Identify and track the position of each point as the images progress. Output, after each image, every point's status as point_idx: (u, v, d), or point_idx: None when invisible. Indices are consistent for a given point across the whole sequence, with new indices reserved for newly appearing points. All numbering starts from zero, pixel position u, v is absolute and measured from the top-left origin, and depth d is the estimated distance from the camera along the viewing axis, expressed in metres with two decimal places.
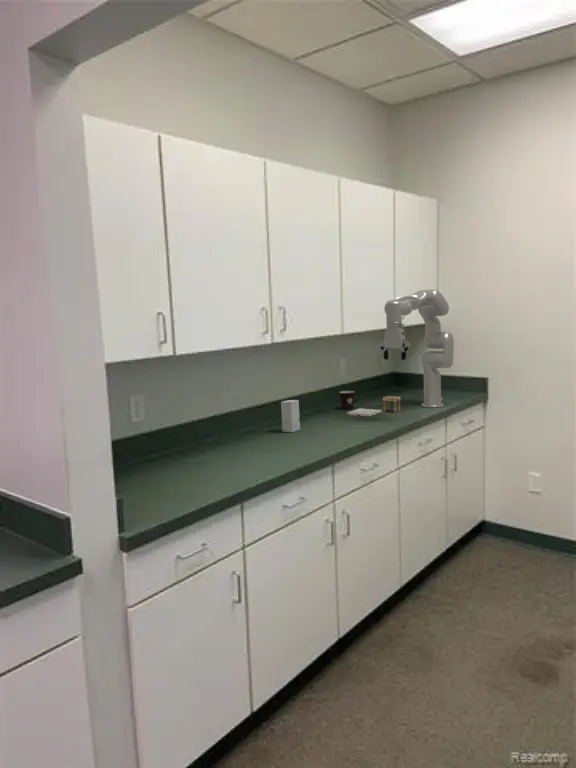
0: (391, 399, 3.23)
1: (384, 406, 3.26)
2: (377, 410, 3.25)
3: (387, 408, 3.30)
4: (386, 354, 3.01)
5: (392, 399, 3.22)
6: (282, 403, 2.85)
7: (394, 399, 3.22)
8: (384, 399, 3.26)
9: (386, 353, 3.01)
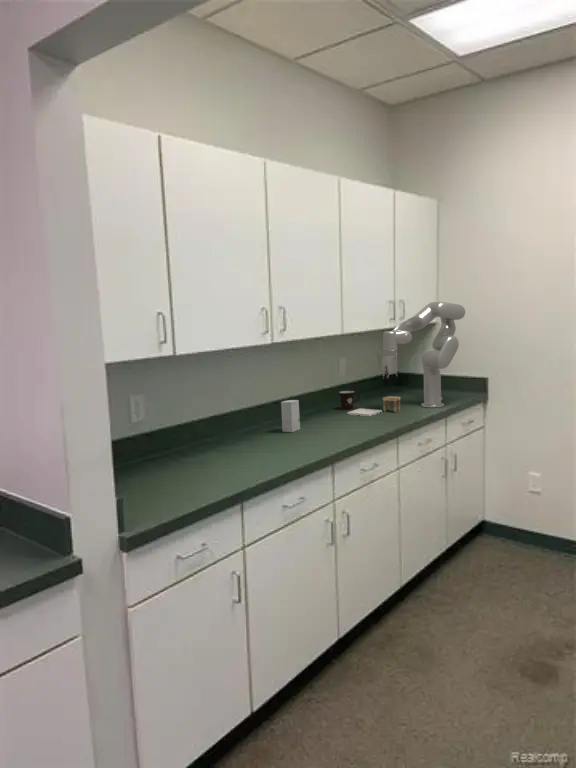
0: (391, 399, 3.23)
1: (384, 406, 3.26)
2: (377, 410, 3.25)
3: (387, 408, 3.30)
4: None
5: (392, 399, 3.22)
6: (282, 403, 2.85)
7: (394, 399, 3.22)
8: (384, 399, 3.26)
9: None
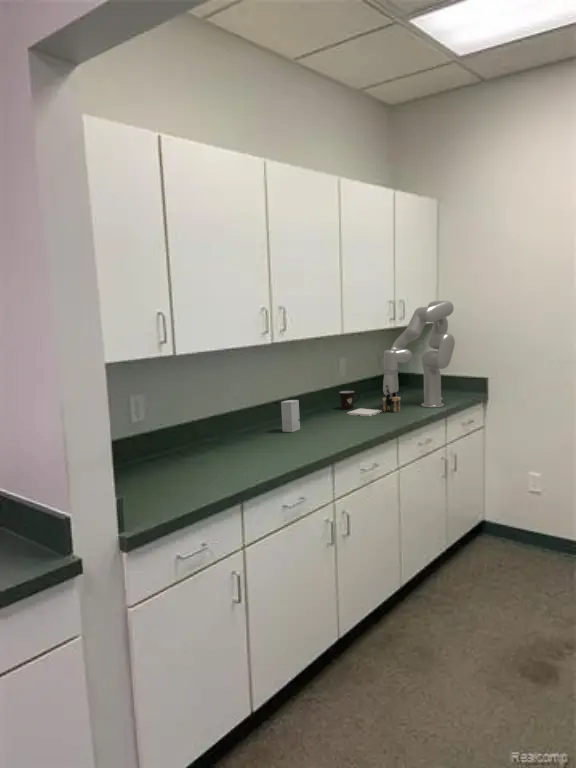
0: None
1: (384, 406, 3.26)
2: (377, 410, 3.25)
3: (387, 408, 3.30)
4: None
5: (392, 399, 3.22)
6: (282, 403, 2.85)
7: (394, 399, 3.22)
8: (384, 399, 3.26)
9: None
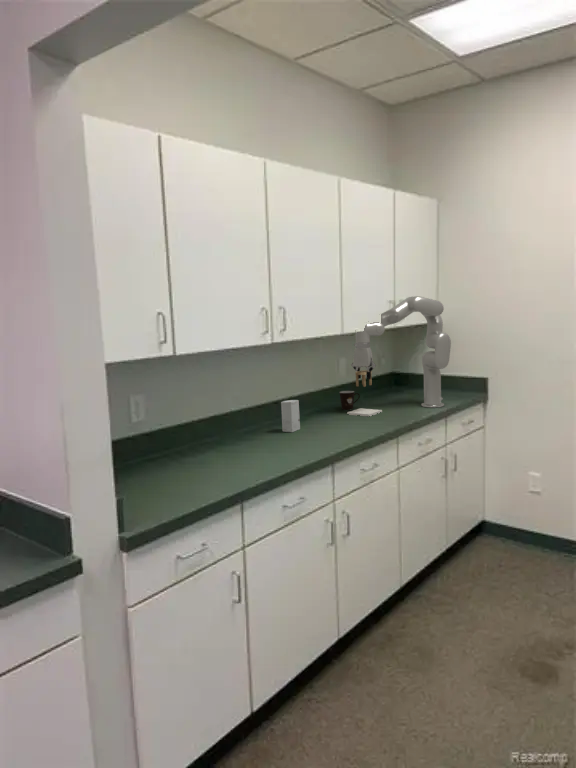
0: None
1: (365, 380, 3.18)
2: (377, 410, 3.25)
3: (357, 384, 3.21)
4: None
5: None
6: (282, 403, 2.85)
7: None
8: (365, 373, 3.18)
9: None
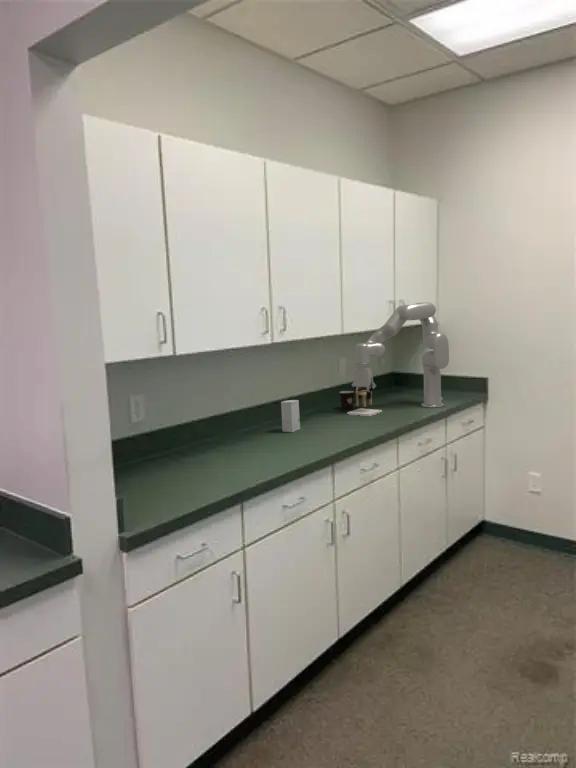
0: None
1: (365, 401, 3.20)
2: (377, 410, 3.25)
3: (358, 404, 3.22)
4: None
5: None
6: (282, 403, 2.85)
7: None
8: (365, 393, 3.19)
9: None
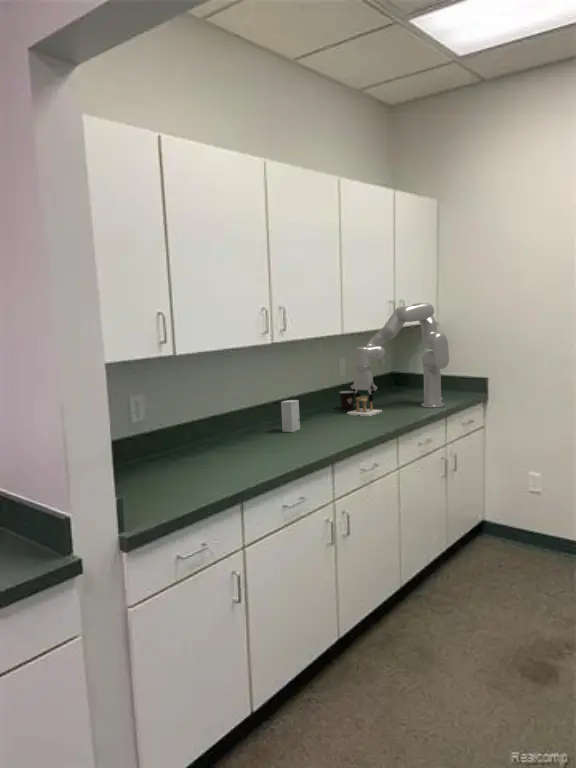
0: None
1: None
2: (377, 410, 3.25)
3: (358, 410, 3.23)
4: None
5: None
6: (282, 403, 2.85)
7: None
8: (365, 399, 3.20)
9: None
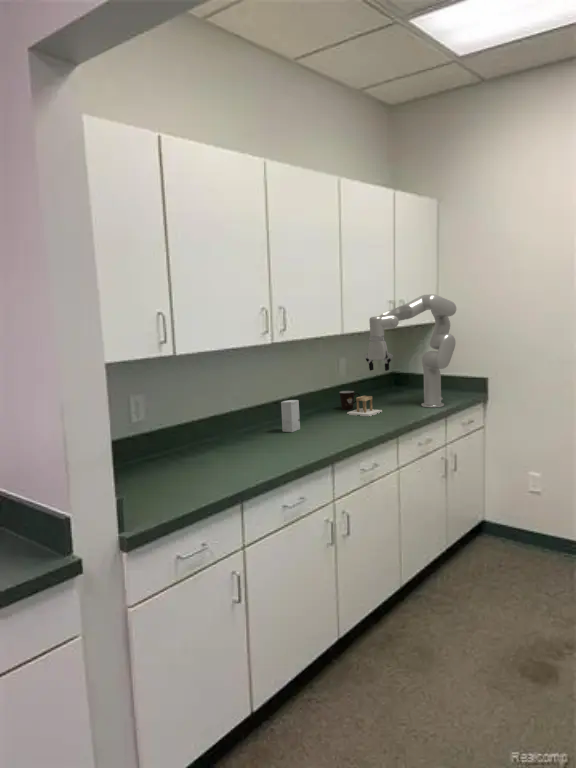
0: (369, 398, 3.23)
1: None
2: (377, 410, 3.25)
3: (358, 410, 3.23)
4: None
5: (370, 397, 3.24)
6: (282, 403, 2.85)
7: (371, 397, 3.25)
8: (365, 399, 3.20)
9: None
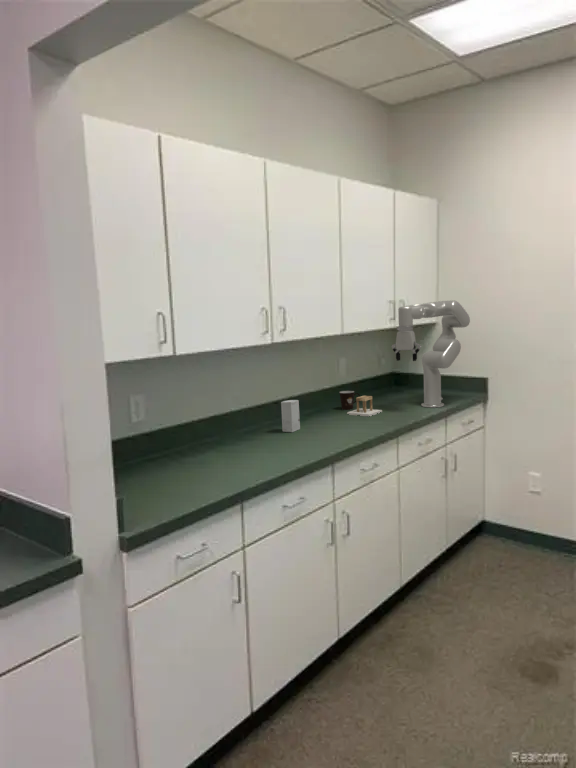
0: (369, 398, 3.23)
1: None
2: (377, 410, 3.25)
3: (358, 410, 3.23)
4: None
5: (370, 397, 3.24)
6: (282, 403, 2.85)
7: (371, 397, 3.25)
8: (365, 399, 3.20)
9: None
